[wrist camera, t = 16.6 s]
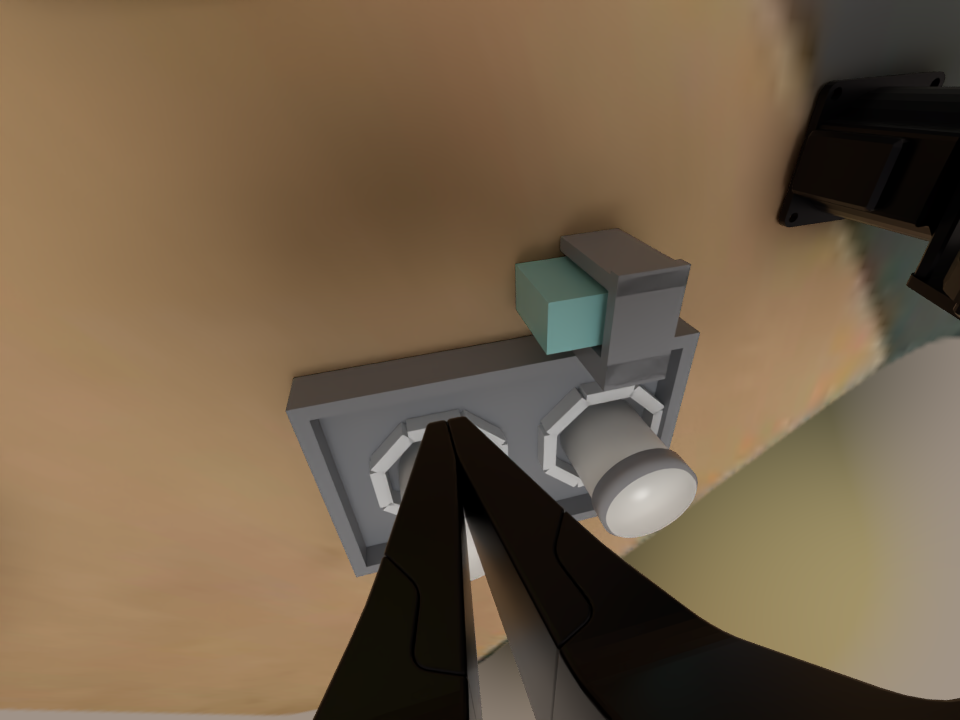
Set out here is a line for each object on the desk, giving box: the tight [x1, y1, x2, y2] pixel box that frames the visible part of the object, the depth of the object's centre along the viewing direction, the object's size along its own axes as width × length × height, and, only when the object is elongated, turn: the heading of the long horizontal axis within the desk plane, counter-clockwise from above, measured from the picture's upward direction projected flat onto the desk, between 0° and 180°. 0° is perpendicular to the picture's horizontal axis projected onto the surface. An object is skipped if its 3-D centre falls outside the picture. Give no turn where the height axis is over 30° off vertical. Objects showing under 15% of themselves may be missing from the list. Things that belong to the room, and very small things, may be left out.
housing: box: [286, 228, 700, 577], centre depth 23 cm, size 21×20×6 cm
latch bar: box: [515, 256, 608, 355], centre depth 20 cm, size 6×2×4 cm, turn 93°
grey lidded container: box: [561, 399, 698, 538], centre depth 24 cm, size 5×5×6 cm
